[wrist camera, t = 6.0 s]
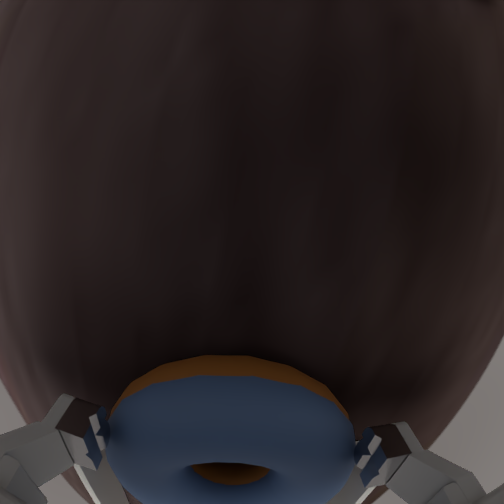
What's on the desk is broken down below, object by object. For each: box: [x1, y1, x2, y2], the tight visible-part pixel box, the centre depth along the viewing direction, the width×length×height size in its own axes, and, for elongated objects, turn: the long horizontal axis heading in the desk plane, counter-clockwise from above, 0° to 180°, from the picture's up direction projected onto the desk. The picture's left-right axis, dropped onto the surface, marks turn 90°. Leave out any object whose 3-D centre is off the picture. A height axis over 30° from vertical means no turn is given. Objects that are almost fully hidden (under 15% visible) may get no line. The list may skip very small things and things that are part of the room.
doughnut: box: [105, 355, 356, 504], centre depth 9 cm, size 10×10×5 cm
